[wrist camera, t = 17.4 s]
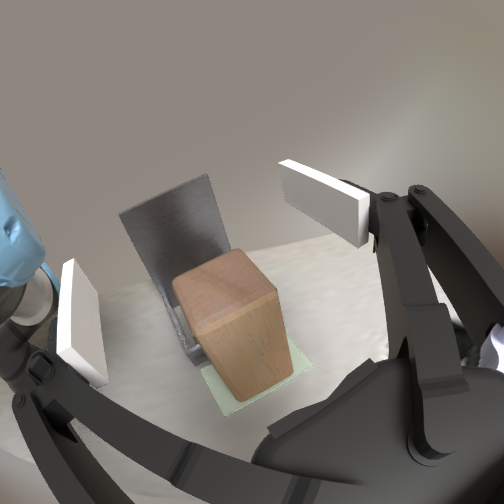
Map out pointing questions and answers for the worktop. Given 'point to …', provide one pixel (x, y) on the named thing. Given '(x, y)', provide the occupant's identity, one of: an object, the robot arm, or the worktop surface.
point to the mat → (232, 405)
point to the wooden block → (236, 322)
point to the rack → (177, 240)
